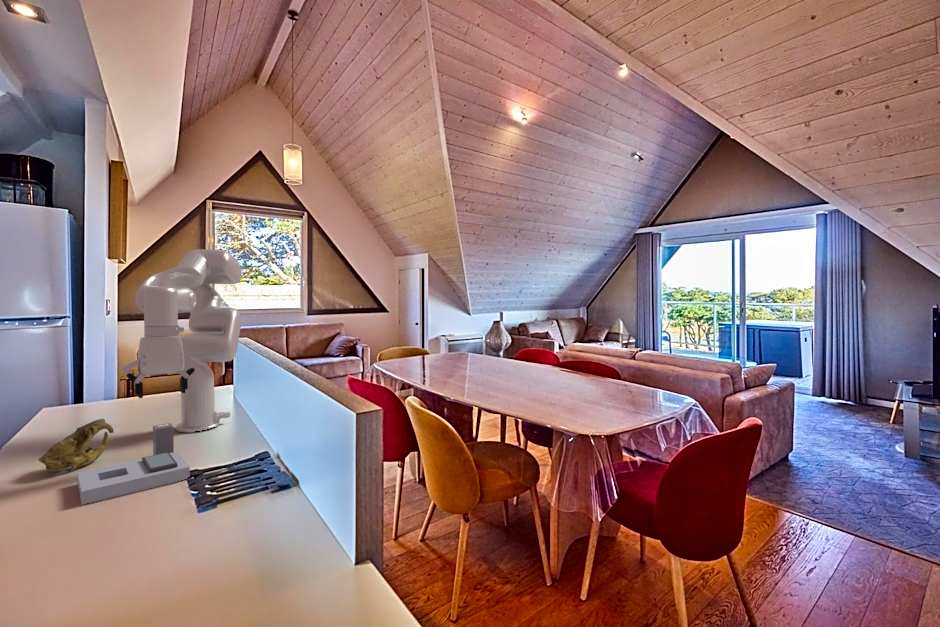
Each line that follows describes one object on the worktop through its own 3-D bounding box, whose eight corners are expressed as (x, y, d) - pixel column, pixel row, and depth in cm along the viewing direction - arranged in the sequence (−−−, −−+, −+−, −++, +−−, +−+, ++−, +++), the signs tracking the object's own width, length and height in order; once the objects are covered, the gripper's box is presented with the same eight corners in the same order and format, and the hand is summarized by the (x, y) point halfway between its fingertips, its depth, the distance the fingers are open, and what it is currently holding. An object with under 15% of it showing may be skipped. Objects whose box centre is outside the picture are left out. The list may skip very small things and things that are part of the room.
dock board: (176, 462, 119) (176, 448, 118) (189, 478, 109) (189, 462, 108) (77, 484, 105) (77, 467, 105) (81, 505, 95) (81, 486, 95)
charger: (170, 454, 124) (170, 422, 124) (173, 458, 122) (173, 425, 121) (153, 458, 122) (152, 425, 121) (156, 462, 119) (155, 428, 118)
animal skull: (130, 443, 123) (114, 416, 118) (72, 488, 111) (51, 460, 106) (106, 437, 126) (89, 411, 121) (47, 480, 113) (25, 452, 108)
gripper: (194, 330, 129) (195, 388, 129) (119, 332, 117) (120, 397, 117) (201, 331, 123) (201, 392, 124) (123, 334, 111) (123, 402, 112)
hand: (162, 394), depth 121 cm, fingers open, 9 cm apart
